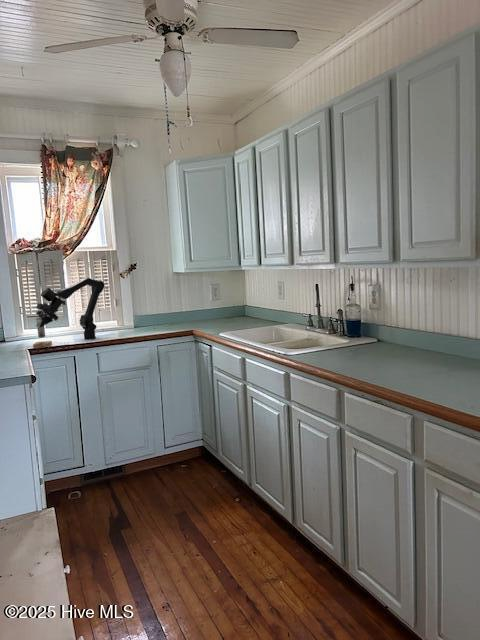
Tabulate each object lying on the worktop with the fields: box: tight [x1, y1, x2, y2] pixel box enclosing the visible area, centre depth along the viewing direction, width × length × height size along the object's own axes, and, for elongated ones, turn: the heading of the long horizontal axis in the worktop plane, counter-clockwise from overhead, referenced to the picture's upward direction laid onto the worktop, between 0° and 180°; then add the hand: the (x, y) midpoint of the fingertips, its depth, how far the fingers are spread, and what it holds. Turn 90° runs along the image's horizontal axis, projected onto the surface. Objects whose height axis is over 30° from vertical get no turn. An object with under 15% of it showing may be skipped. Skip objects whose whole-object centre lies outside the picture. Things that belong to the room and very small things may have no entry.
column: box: [35, 316, 46, 339], centre depth 292 cm, size 4×4×12 cm
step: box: [32, 340, 53, 349], centre depth 294 cm, size 9×9×2 cm
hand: (38, 326), depth 291 cm, fingers closed on column, 4 cm apart
